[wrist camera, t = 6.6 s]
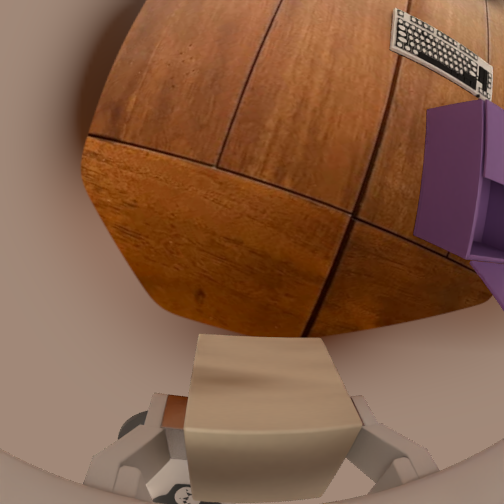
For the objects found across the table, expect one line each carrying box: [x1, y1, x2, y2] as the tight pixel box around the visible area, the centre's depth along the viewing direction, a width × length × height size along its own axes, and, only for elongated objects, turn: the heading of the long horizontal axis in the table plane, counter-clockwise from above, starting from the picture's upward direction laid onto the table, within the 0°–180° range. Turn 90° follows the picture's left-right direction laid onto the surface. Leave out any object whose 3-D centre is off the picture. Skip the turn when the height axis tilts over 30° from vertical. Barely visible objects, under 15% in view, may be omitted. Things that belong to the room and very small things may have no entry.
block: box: [183, 334, 362, 503], centre depth 9 cm, size 4×4×4 cm
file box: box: [413, 99, 504, 264], centre depth 24 cm, size 15×13×10 cm
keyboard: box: [390, 8, 493, 101], centre depth 24 cm, size 17×6×2 cm, turn 80°
